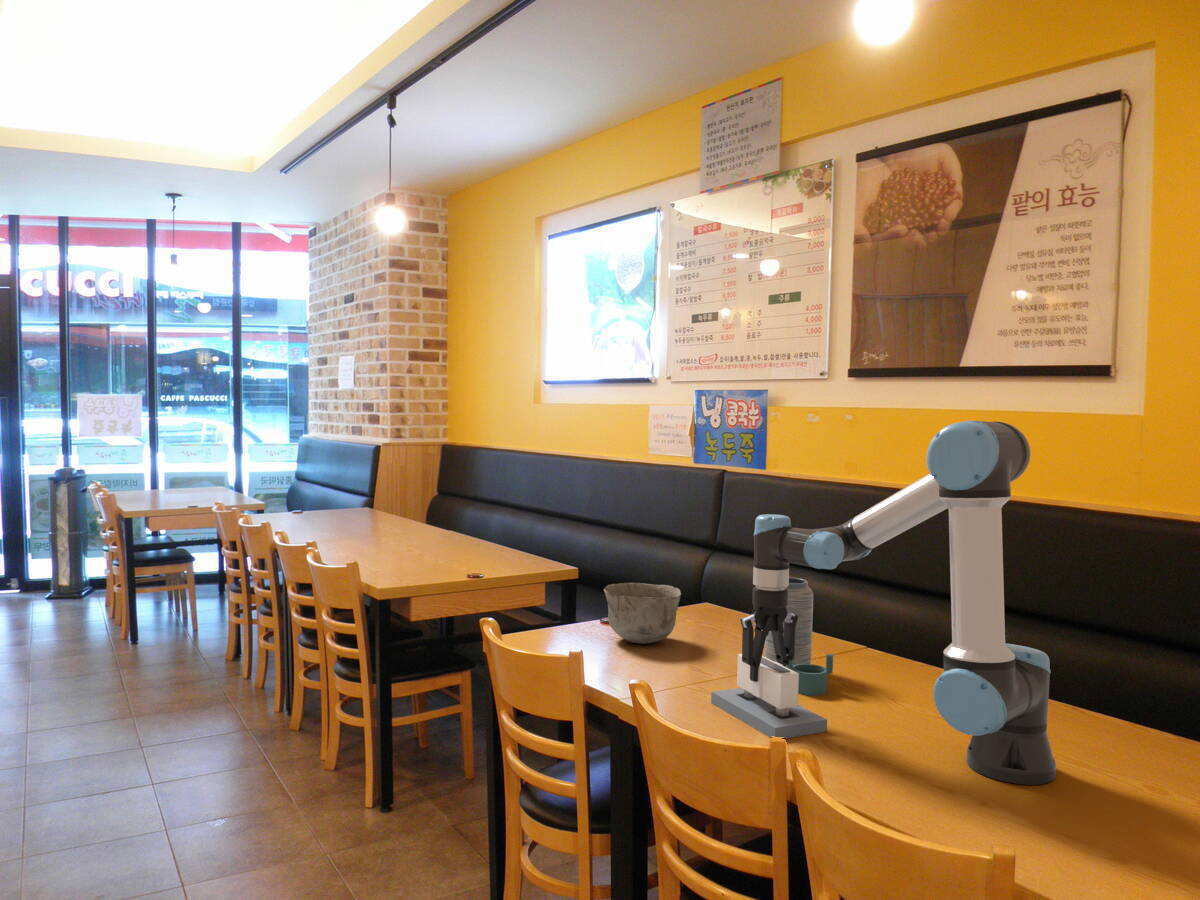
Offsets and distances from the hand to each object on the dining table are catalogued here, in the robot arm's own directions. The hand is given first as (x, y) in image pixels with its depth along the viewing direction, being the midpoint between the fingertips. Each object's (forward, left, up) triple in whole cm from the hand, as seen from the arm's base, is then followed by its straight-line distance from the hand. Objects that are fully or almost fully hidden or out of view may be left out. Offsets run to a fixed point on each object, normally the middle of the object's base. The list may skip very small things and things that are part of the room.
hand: (767, 694), depth 189 cm
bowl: (+64, -3, -5) cm, 64 cm away
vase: (+27, -26, -5) cm, 37 cm away
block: (0, 0, -2) cm, 2 cm away
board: (0, 0, -5) cm, 5 cm away
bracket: (+12, -21, -5) cm, 24 cm away
